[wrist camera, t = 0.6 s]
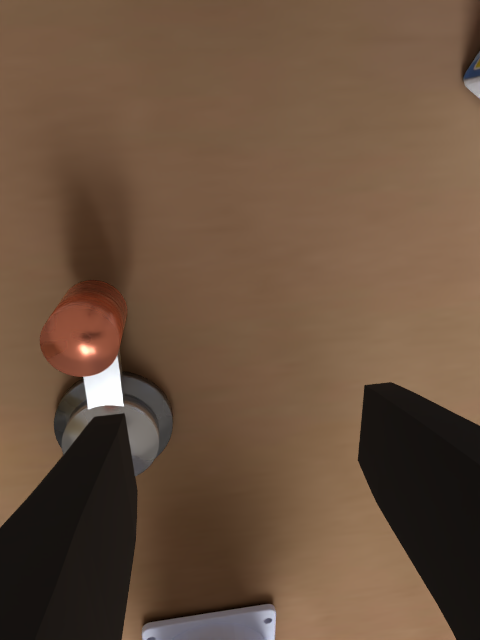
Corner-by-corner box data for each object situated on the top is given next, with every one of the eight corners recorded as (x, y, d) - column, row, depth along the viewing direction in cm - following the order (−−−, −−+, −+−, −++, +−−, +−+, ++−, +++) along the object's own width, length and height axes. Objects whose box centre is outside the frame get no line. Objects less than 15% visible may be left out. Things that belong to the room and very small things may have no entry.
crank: (162, 461, 20) (161, 523, 17) (74, 470, 20) (54, 536, 16) (146, 273, 17) (141, 304, 13) (38, 277, 16) (5, 311, 13)
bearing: (175, 459, 21) (175, 466, 21) (65, 470, 20) (63, 478, 20) (169, 366, 19) (169, 372, 19) (47, 375, 19) (44, 381, 18)
